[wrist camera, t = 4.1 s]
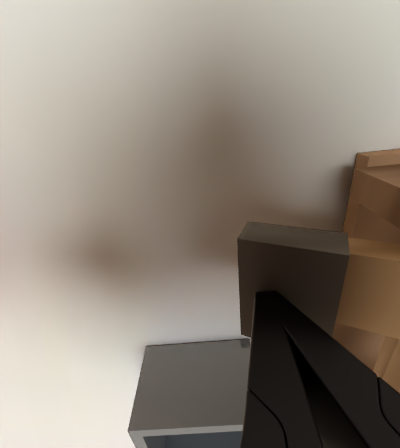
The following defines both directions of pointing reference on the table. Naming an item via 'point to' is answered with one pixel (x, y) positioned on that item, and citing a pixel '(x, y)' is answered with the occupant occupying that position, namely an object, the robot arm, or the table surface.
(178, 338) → the table surface
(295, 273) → the catapult lever
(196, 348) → the grey open box
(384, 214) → the frame
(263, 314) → the robot arm
